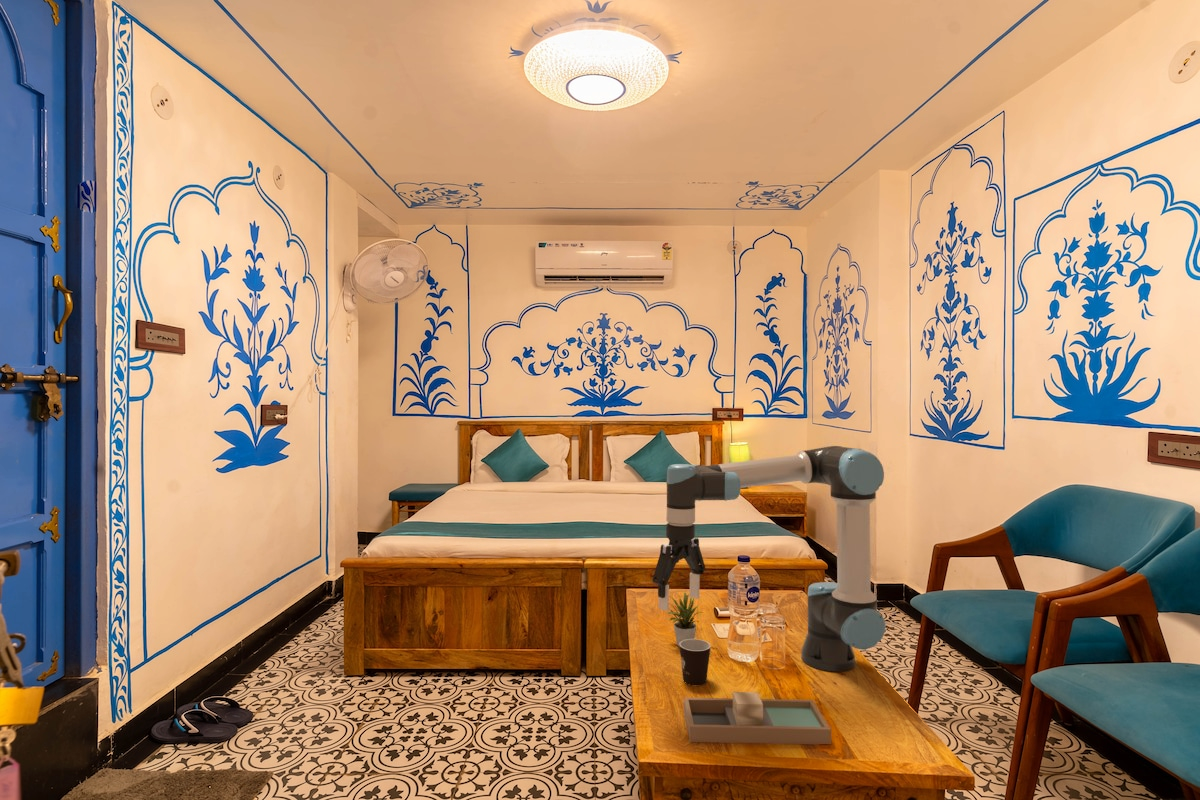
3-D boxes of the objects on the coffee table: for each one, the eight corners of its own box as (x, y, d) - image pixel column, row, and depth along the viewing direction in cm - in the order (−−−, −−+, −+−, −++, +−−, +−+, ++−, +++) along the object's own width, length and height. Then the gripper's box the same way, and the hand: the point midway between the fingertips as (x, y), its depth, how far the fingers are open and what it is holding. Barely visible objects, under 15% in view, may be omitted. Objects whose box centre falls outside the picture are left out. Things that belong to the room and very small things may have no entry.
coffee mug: (709, 689, 174) (710, 652, 173) (677, 686, 175) (678, 649, 175) (711, 670, 185) (711, 636, 185) (681, 668, 187) (681, 633, 186)
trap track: (812, 713, 160) (812, 699, 160) (830, 744, 146) (831, 729, 146) (683, 711, 161) (683, 697, 161) (689, 741, 147) (689, 726, 147)
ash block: (757, 712, 157) (757, 692, 157) (762, 725, 151) (763, 704, 151) (732, 712, 157) (732, 692, 157) (737, 725, 151) (737, 704, 151)
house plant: (659, 634, 212) (659, 585, 212) (701, 635, 212) (702, 585, 212) (662, 651, 198) (662, 599, 198) (707, 652, 198) (707, 599, 198)
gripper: (696, 515, 181) (695, 590, 181) (639, 527, 163) (638, 611, 163) (718, 518, 176) (717, 596, 176) (662, 532, 158) (661, 618, 158)
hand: (679, 603), depth 170 cm, fingers open, 13 cm apart
